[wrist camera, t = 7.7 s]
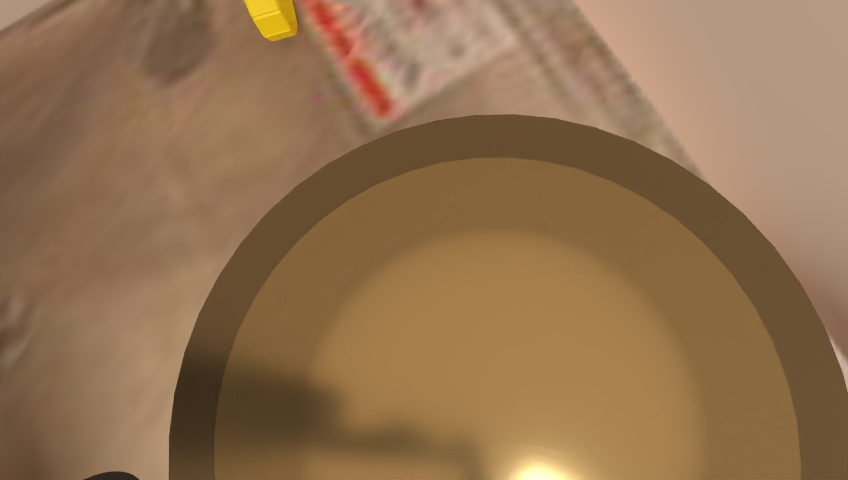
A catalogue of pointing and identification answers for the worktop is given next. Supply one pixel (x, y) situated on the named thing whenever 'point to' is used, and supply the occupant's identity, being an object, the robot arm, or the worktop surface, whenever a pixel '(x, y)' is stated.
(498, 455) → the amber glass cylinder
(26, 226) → the worktop surface
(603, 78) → the worktop surface
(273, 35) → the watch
